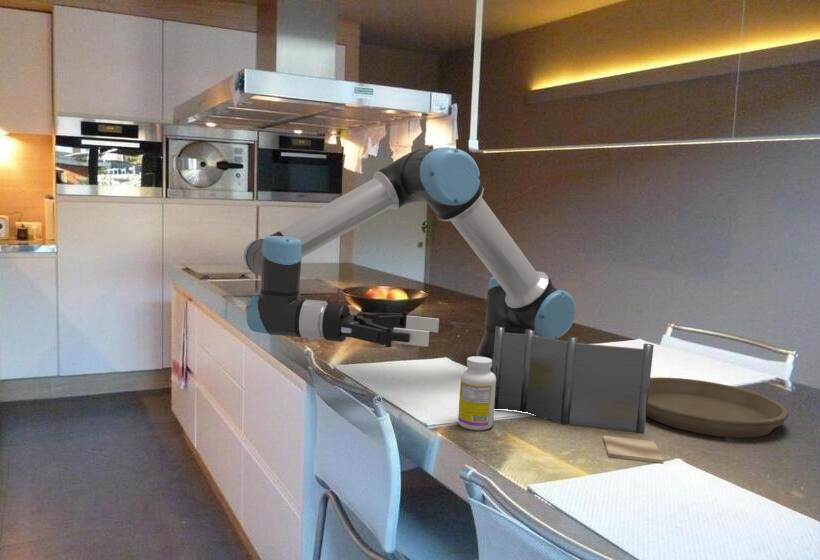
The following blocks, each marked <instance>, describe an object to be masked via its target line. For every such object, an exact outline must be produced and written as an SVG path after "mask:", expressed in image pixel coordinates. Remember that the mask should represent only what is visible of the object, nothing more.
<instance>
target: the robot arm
mask: <svg viewBox="0 0 820 560" xmlns="http://www.w3.org/2000/svg"><path fill="white" fill-rule="evenodd" d="M480 176H481V174H480V169H479V167H478V164H477V163H476V161H475V159H474V158H473V157H472V156H471V155H470V154H469V153H467V151H466V152H465V151H464V150H461V149H459V148H454V147H449V146H442V147H437V148H421V149H416V150H413V151H409V152H408V153H406V154H405V155H403V156H401V157H399V158H397V159H396V160H394V161H393V162H391V163H389V164H387V165H386V166H384V167H382V168H380V169H379V170H377V171H375V172H374V173H373V177H372V179H370V180H368V181H367V182H365V183H363V184H361V185H359V186H358V187H356V188H354V189H352V190H350V191H349V192H346V193H344V194H343V195H341V196H339V197H337V198H336V199H334V200H332V201H330V202H329V203H327V204H325V205H323V206H321V207H319V208H317V209H316V210H313V211H312V212H311V213H308V214H307V215H305V216H303V217H301V218H299V219H298V220H296V221H294V222H292V223H290V224H289V225H287V226H284V227H283V228H281V229H279V230H278V231H276V232H274V233H272V234H270V235H268V236H265V237H264V238H257V239H254V240H252V241H251V242H249V243H248V244H247V245H246V247H245V248H244V251H243V261H244V263H245V265H246V267H247V268H248V269H249V271H251V273H253V274H255V275H257V276H260V277H261V278H260V280H261V281H260V292H259V293H260V294H255V295H252V297H251V298H250V299H249V301H248V303H247V310H246V314H245V315H246V316H245V317H246V323H247V326H248V328H249V329H250V331H252V332H255V333H260V334H261V333H262V334H267V335H270V336H282V337H283V336H284V337H294V338H296V337H297V338H305V339H306V338H307V339H308V341H309V342H314V340H323V339H324V340H326V341H328V342H338V343H339V342H340V343H342V342H344V341H345V340H346V339H347V338H351V339H356V340H361V341H364V342H365V341H366V342H369V343H374V344H377V345H380V346H384V347H385V348H391V347H392V344H396V345H397V344H399V345H405V346H406V345H408V346H416V347H417V346H418V347H426V348H427V347H429V344H430V343H429V340H430V333H437V334H438V333H439V327H440V326H439V325H440V323H439V322H440V319H439V318H435V317H425V316H416V315H408V311H405V310H404V311H402V312H401V313H399V312H366V311H365V312H363V311H359V312H357V313H356V314H351V313H350V307H349V305H348V304H347V303H344V302H333V301H330V302H329V303H328V302H327V301H326V300H316V299H315V300H314V299H303V298H300V288H301V287H300V285H301V283H300V282H301V271H302V269H301V268H302V259H303V258H304V257H306V256H307V255H309V254H311V253H313V252H315V251H317V250H319V249H320V248H322V247H323V246H325V245H327V244H329V243H330V242H332V241H334V240H336V239H338V238H339V237H341V236H343V235H345V234H346V233H348V232H350V231H352V230H353V229H355V228H357V227H359V226H361V225H362V224H364V223H365V222H368V221H369V220H372V219H373V218H375V217H376V216H378V215H380V214H382V213H384V212H386V211H387V210H390V209H391V210H393V211H395V210H398V209H399V208H401V207H403V206H405V205H408V204H412V203H417V202H418V203H419V202H422V203H427V204H428V205H429V207H430V208H431V209H432V210H433V212H434V213H435V215H436V216H438V218H439V219H440V221H443V222H444V221H445V222H451V224H452V225H453V226H454V227H455V229H456V230H457V232H459V234H460V235H461V236H462V238H463V239H464V241H466V243H467V244H468V246H469V247H470V249H472V251H473V252H474V253H475V255H476V256H477V257H478V258H479V260H480V261H481V262H482V264H483V265H484V267H485V268H486V269H487V270H488V272H489V273H490V274H491V275H492V277H491V278H490V279H489V280H488V286H487V290H486V293H487V296H486V297H487V300H486V311H485V314H486V315H485V324H484V325H485V326H484V334H483V337H482V339H481V341H480V344H479V346H478V349H477V351H476V356H480V357H487V358H490V359H492V367H491V369H493V356H494V343H495V329H496V327H504V328H505V330H504V332H507V333H518V334H526V329H532V330H535V336H541V337H546V338H551V339H558V338H560V337H562V336H564V335H565V334H566V333H568V331H569V330H570V329H571V327H572V326H573V323H574V321H575V315H576V313H577V307H576V302H575V299H574V297H573V296H572V295H571V294H570V293H569V292H567V291H565V290H564V289H563V290H562V289H558V288H557V286H556V285H555V284H554V283H553V281H552V279H551V278H550V277H549V276H548V274H546V272H544V271H537V270H536V269H535V268H534V267H533V266H532V264H531V262H530V261H529V260H528V258H527V256H525V254H524V253H523V252H522V250H521V249H520V247H519V246H518V244H517V243H516V242H515V240H514V239H513V238H512V237H511V235H510V234H509V232H508V231H507V230H506V228H505V227H504V226H503V224H502V223H501V222H500V220H499V219H498V218H497V216H496V214H495V213H494V212H493V211H492V209H491V208H490V206H489V205H488V204H487V202H486V201H485V200H484V198H483V194H484V190H485V189H484V186H483V185H482V184H481V180H480Z"/></svg>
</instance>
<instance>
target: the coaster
mask: <svg viewBox="0 0 820 560" xmlns="http://www.w3.org/2000/svg"><path fill="white" fill-rule="evenodd" d="M602 440H604V441H603V444H604V447H605V449H606V453H608V454H607V456H608V458H616V459H624V460H629V461H630V460H631V461H632V460H633V461H639V462H640V461H641V462H648V463H655V464H656V463H659V464H664V462H665V460H664V458H663V455H662V453H661V452H660V450H659V448H658V445H657V444H656V442H655V441H654V440H647V439H636V438H630V437H629V438H628V437H620V436H619V437H618V436H610V435H609V436H608V435H603V436H602Z"/></svg>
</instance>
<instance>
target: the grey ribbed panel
mask: <svg viewBox="0 0 820 560" xmlns="http://www.w3.org/2000/svg"><path fill="white" fill-rule="evenodd" d="M504 330H505V328H504V327H496V329H495V343H494V356H493V368H491V370H492V371H491V372H492V373H493V374H494V375H495V376H496V390H495V404H494V409H508V410H517V411H522V412H528V413H531V414H534V415H536V416H538V417H537V418H540V417H542V418H541V419H544V418H546V419H545V420H548V419H550V420H549V421H551V420H553V421H552V422H555V421H557V422H556V423H559V422H560V423H559V424H561V423H562V424H561V425H564V424H573V425H572V426H578V425H582V426H581V427H587V426H592V427H591V428H597V427H599V428H598V429H606V428H608V429H607V430H617V431H626V432H632V433H633V432H634V433H637V434H644V433H645V431H646V422H647V421H646V420H647V416H646V413H647V403H648V394H649V385H650V378H651V375H652V366H653V365H652V363H653V356H654V344H651V343H643V345H642V346H643V347H642V348H635V347H628V346H627V347H625V346H615V345H604V344H603V345H602V344H593V343H584V342H583V343H581V342H578V337H575V336H568V337H567V340H563V339H562V340H561V339H558V338H555V339H551V338H546V337H541V336H538V335H536V334H535V330H532V329H526V334H518V333H507V332H504ZM536 416H535V417H536ZM600 427H601V428H600Z"/></svg>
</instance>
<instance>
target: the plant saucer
mask: <svg viewBox="0 0 820 560" xmlns="http://www.w3.org/2000/svg"><path fill="white" fill-rule="evenodd" d="M788 416H789V411H788V408H787V407H785V406H784V405H783V404H782V403H781V402H778V401H777V400H774V399H773V398H770V397H769V396H766V395H763V394H762V393H761V394H760V393H757V392H754V391H751V390H748V389H744V388H741V387H738V386H737V387H736V386H733V385H728V384H723V383H718V382H714V381H713V382H711V381H707V380H698V379H690V378H680V377H662V376H661V377H660V376H659V377H650V385H649V394H648V403H647V413H646V418H649V419H650V420H652V421H655V422H658V423H660V424H662V425H666V426H667V427H671V428H675V429H677V430H682V431H685V432H690V433H695V434H700V435H707V436H714V437H720V438H721V437H722V438H731V439H733V438H736V439H737V438H738V439H745V438H746V439H747V438H748V439H749V438H750V439H751V438H758V437H759V438H760V437H762V436H766V435H768V434H770V433H771V432H772V431H773V430H774V429H775V428H777V427H779V426H781V425H782V424H784V422H785V421H786V420H787V419H788Z"/></svg>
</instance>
